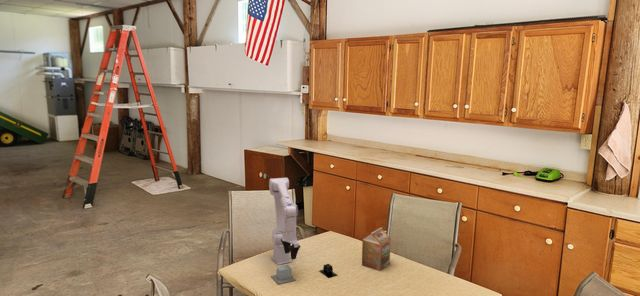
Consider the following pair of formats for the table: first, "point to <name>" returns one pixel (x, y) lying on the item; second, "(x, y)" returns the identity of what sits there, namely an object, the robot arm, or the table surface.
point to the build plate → (328, 271)
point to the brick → (284, 272)
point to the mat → (282, 280)
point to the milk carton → (376, 250)
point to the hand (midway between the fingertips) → (290, 256)
